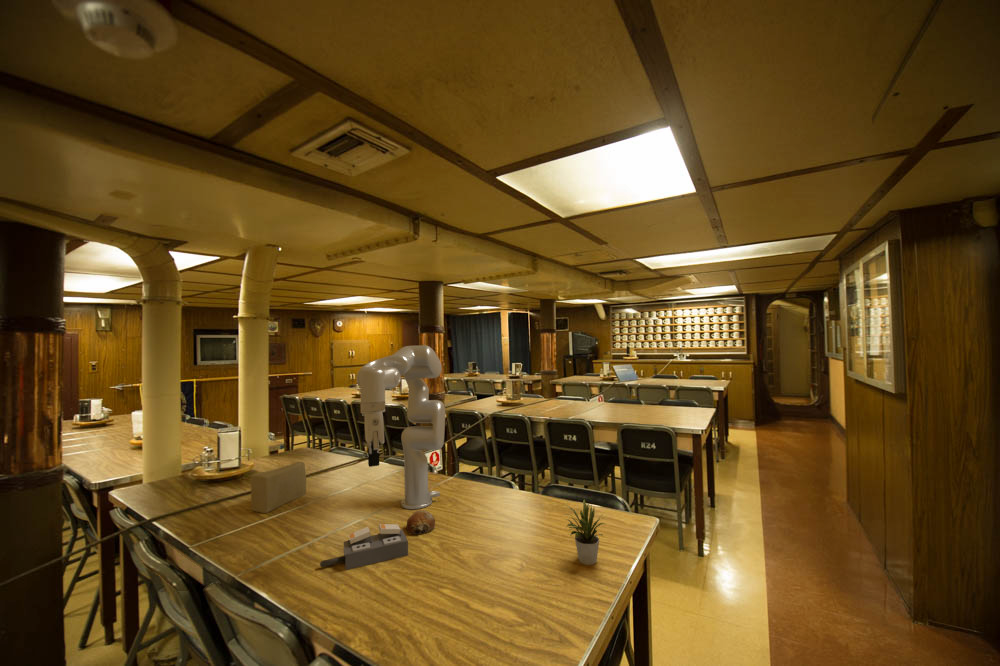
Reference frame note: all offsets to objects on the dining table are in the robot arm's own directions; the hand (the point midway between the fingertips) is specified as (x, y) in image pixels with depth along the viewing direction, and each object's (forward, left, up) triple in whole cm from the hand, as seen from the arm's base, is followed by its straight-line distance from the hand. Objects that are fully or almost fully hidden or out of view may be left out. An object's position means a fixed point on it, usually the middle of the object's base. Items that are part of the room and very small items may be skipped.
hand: (373, 465), depth 127 cm
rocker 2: (-5, 0, -21) cm, 21 cm away
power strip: (+3, +2, -27) cm, 27 cm away
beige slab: (+30, -63, -27) cm, 75 cm away
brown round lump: (-17, -10, -28) cm, 34 cm away
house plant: (-56, +33, -27) cm, 71 cm away
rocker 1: (+4, 0, -21) cm, 21 cm away
